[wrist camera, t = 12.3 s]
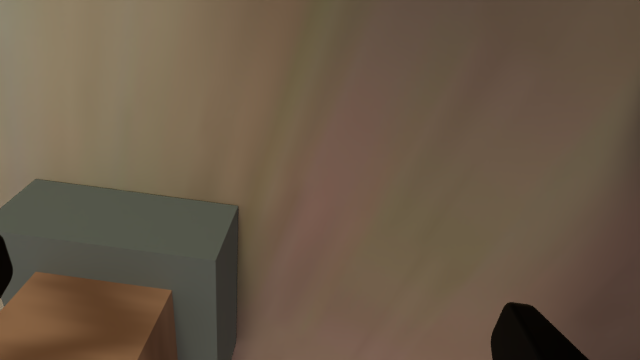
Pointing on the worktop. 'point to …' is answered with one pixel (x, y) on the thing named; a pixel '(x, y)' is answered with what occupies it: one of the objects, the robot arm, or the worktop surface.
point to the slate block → (133, 252)
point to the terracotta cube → (87, 321)
